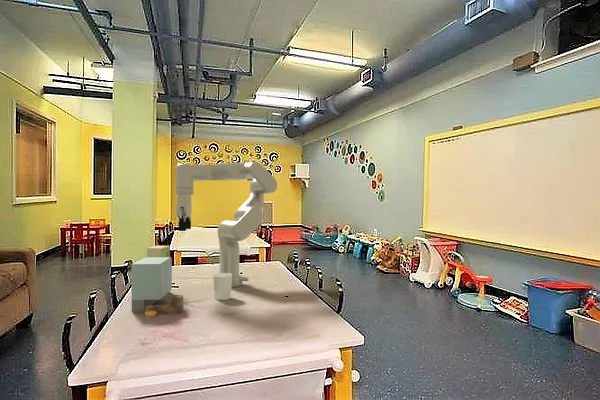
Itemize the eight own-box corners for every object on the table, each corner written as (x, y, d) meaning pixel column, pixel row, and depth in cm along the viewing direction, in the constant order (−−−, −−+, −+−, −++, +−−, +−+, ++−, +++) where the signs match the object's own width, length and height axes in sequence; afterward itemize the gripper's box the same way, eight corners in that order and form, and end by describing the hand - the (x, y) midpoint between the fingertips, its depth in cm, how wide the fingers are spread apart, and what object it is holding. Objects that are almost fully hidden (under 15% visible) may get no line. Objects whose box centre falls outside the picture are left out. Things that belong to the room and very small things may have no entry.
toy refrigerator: (162, 296, 172) (161, 248, 172) (146, 295, 174) (146, 247, 173) (171, 292, 180) (171, 245, 180) (156, 291, 182) (156, 245, 181)
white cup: (235, 297, 172) (235, 273, 171) (224, 301, 164) (224, 277, 164) (220, 295, 175) (220, 272, 175) (209, 299, 168) (209, 275, 168)
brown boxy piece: (182, 310, 152) (182, 294, 151) (180, 313, 148) (180, 297, 148) (147, 311, 151) (147, 295, 151) (144, 314, 147) (144, 297, 147)
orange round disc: (158, 314, 148) (158, 310, 148) (153, 317, 144) (153, 313, 144) (147, 313, 148) (147, 309, 148) (142, 317, 144) (142, 313, 144)
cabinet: (171, 300, 166) (171, 257, 166) (160, 311, 150) (160, 263, 150) (145, 300, 166) (145, 257, 166) (131, 311, 150) (131, 264, 150)
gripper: (180, 191, 186) (180, 228, 187) (171, 191, 169) (171, 231, 169) (197, 191, 187) (197, 228, 187) (189, 191, 169) (189, 231, 170)
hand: (184, 229), depth 178 cm, fingers open, 9 cm apart
